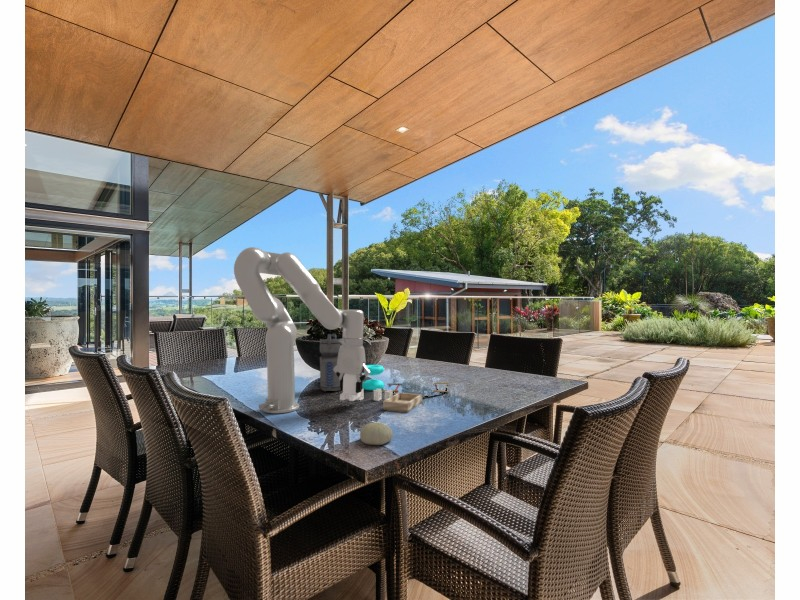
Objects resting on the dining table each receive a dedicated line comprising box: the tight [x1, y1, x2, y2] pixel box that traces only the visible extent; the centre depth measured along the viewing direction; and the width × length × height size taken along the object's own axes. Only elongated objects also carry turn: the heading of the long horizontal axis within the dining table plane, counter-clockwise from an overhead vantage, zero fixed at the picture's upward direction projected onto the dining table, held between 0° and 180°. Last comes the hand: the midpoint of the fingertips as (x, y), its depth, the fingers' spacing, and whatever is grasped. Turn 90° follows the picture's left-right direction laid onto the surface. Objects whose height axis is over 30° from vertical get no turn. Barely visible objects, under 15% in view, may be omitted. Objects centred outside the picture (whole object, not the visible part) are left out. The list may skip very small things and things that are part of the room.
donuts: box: [362, 364, 385, 391], centre depth 180 cm, size 10×10×10 cm
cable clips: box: [355, 388, 394, 402], centre depth 159 cm, size 5×14×4 cm, turn 67°
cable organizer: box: [339, 374, 361, 402], centre depth 150 cm, size 5×10×10 cm, turn 168°
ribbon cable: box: [382, 382, 451, 399], centre depth 173 cm, size 29×1×30 cm
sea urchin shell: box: [359, 421, 394, 446], centre depth 113 cm, size 9×8×8 cm
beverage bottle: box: [319, 333, 342, 392], centre depth 179 cm, size 10×13×25 cm
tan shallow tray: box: [382, 392, 423, 413], centre depth 150 cm, size 15×10×3 cm, turn 157°
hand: (350, 390), depth 150 cm, fingers closed on cable organizer, 5 cm apart
